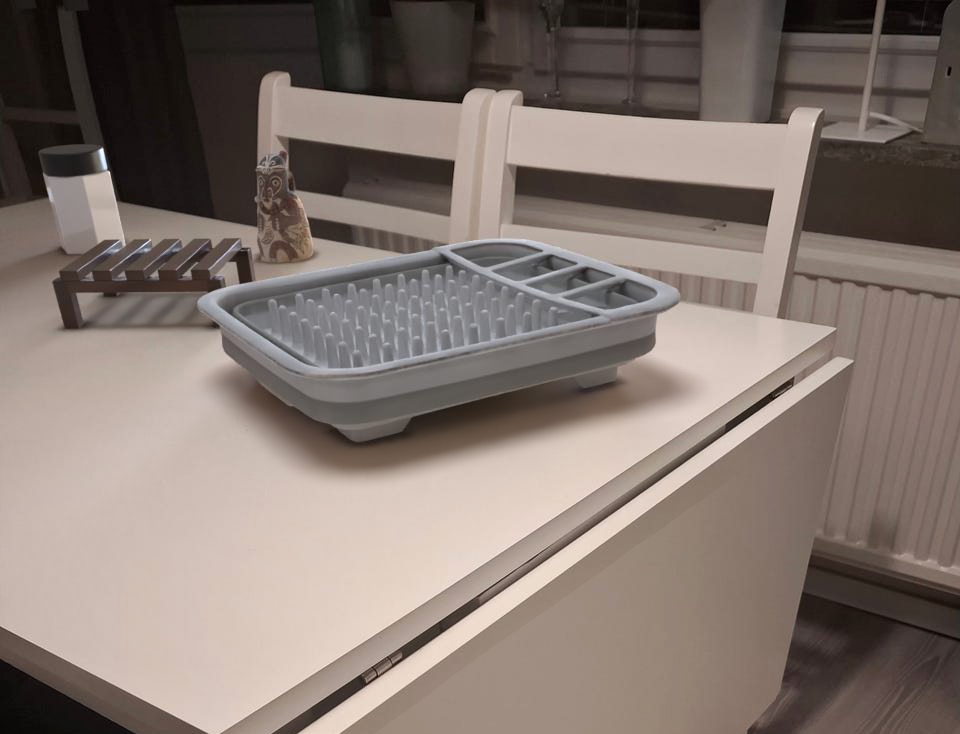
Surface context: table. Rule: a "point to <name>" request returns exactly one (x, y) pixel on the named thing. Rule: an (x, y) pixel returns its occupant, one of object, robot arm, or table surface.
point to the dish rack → (436, 329)
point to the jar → (81, 196)
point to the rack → (148, 270)
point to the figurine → (280, 214)
